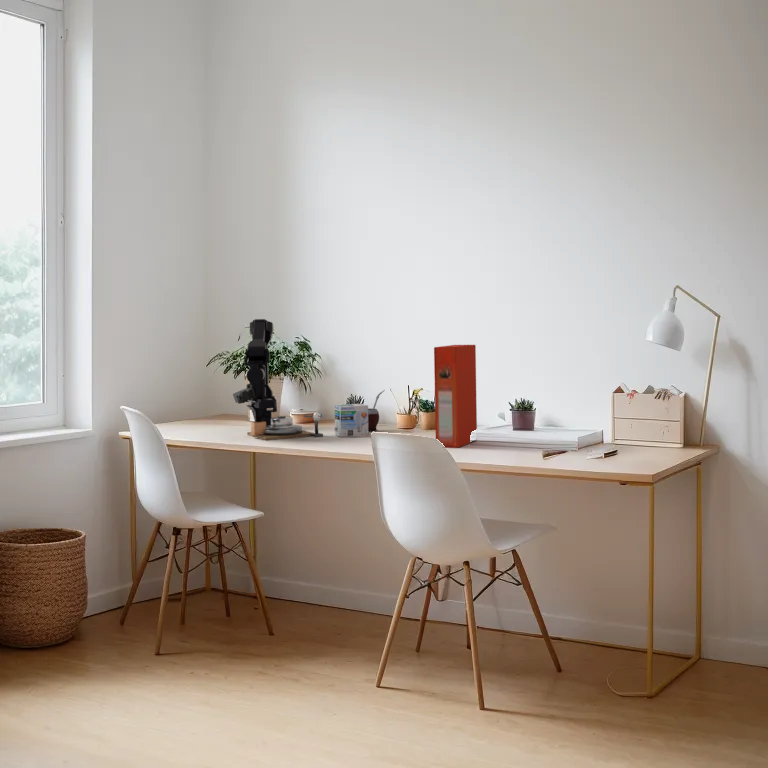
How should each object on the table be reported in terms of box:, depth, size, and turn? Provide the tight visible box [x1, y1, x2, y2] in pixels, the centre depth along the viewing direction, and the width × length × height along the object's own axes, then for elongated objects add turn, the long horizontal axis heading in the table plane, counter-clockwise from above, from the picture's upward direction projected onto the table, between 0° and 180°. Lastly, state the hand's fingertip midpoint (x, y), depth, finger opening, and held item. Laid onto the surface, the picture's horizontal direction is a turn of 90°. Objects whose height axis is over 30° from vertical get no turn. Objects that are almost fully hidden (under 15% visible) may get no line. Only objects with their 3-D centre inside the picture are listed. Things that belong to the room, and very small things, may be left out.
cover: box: [270, 415, 295, 429], centre depth 350 cm, size 8×8×4 cm
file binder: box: [433, 344, 478, 449], centre depth 323 cm, size 8×17×32 cm, turn 155°
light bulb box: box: [334, 403, 369, 438], centre depth 348 cm, size 11×7×11 cm, turn 112°
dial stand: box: [303, 411, 324, 438], centre depth 347 cm, size 5×5×9 cm
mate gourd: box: [368, 389, 386, 433], centre depth 359 cm, size 8×8×15 cm
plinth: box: [247, 429, 314, 441], centre depth 350 cm, size 16×19×1 cm
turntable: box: [250, 421, 303, 435], centre depth 349 cm, size 15×18×4 cm
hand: (257, 425), depth 347 cm, fingers closed
